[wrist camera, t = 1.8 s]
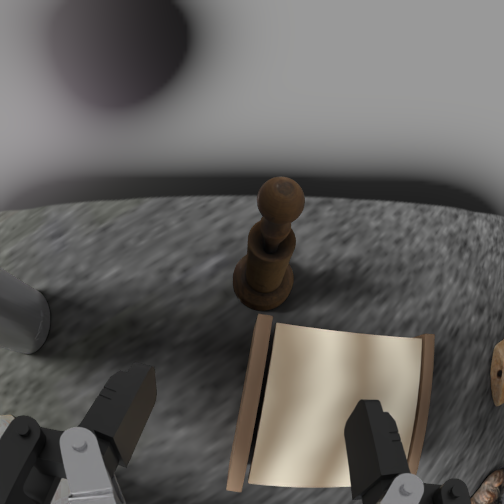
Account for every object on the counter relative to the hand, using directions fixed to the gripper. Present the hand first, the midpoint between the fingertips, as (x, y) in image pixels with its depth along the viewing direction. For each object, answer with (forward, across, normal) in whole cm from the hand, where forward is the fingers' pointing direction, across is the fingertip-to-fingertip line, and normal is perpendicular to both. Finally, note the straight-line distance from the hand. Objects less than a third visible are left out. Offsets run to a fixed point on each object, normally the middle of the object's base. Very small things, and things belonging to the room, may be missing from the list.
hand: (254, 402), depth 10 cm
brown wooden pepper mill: (+23, 0, +6) cm, 24 cm away
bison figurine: (+1, -38, +28) cm, 48 cm away
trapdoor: (+12, -8, +14) cm, 20 cm away
